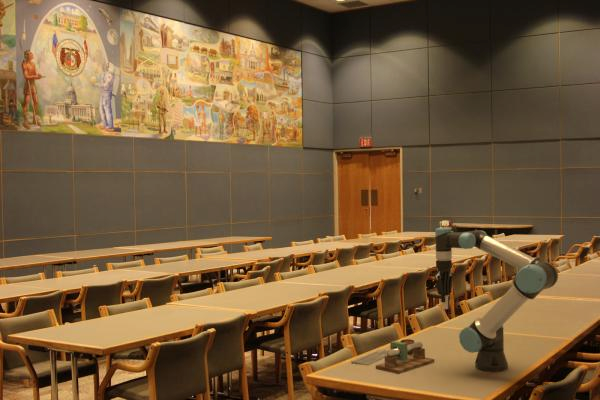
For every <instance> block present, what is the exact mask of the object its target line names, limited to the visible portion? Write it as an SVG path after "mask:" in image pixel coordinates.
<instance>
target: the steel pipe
mask: <svg viewBox="0 0 600 400" xmlns="http://www.w3.org/2000/svg"><path fill="white" fill-rule="evenodd" d="M419 348H423V343H422V342H421V341H417V342H414V343H413V344H409V345H407V352H409V351H413V350H416V349H419ZM395 355H401V351H400V347H397V348H395V349H392V350H391V349H388V350H387V356H388V357H392V356H395Z"/></svg>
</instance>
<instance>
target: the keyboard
mask: <svg viewBox="0 0 600 400" xmlns="http://www.w3.org/2000/svg"><path fill="white" fill-rule="evenodd" d="M387 351H388V350H386V349H382V348H378V349H376V350H374V351H372V352H369V353H367V354H364V355H361V356H360V357H356V358H355V359H353V360H351V364H355V365H362V366H367V367H368V366H372V365H373V364H376V363H377V362H380V361H382V360H383V359H384V360H385V356H387Z"/></svg>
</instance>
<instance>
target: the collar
mask: <svg viewBox="0 0 600 400" xmlns="http://www.w3.org/2000/svg"><path fill="white" fill-rule="evenodd" d="M389 342H390V348H389V350H392V349H395V348H398V347H400V351H401V354H400V355H395V357H397V360H401V361H406V360H408V356H409V354H407V343H402V342H401V341H395V340H392V341H389Z"/></svg>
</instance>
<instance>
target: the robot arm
mask: <svg viewBox="0 0 600 400" xmlns="http://www.w3.org/2000/svg"><path fill="white" fill-rule="evenodd" d="M434 235H435V236H434V237H435V238H434V240H435V259H436V260H435V268H436V269H437V273H436V274H434V280H435V285H436V289H437V294H438V295H439V296H440V299H441V300H440V301H441V309H442V310H449V296H451V293H452V290H453V289H452V287H453V279H454V275H455V274H454V273H453V272H451V269H452V266H453V261H452V258H453V256H452V253H453V251H452V249H462V250H463V249H464V250H468V249H470V250H471V249H473V248H476V249H478V250H481V251H482V252H485V253H487V254H488V255H491V256H493V257H494V258H497V259H498V260H500V261H502V262H504V263H506V264H508V265H510V266H512V267H515V268H517V269H518V271H517V272H516V275H515V278H514V279H512V286H511V287H510V288H509V289H508V290H507V292H505V293H504V295H502V296H501V298H499V300H497V302H495V304H494V305H493V306H492V307H490V309H489V310H488V311H487V312H486V313H485V314H484V315H483V316H482V317H478V318H475V319H474V321H473V322H472V323H471V324H470V325H468V326H465V327H463V329H461V330H460V332H459V336H458V338H459V343H460V346H461V347H462V348H463V349H464V350H465V351H466V352H468V353H477V355H476V357H475V362H474V365H475V366H474V367H475V368H476V369H478V370H480V371H484V372H485V371H487V372H502V371H507V369H509V362H508V361H507V356H506V355H505V349H504V347H505V346H504V344H505V343H504V341H505V340H504V324H505V323H506V322H507V321H508V320H509V319H510V318H512V317H513V315H514V314H515V313H516V312H518V310H519V309H520V308H521V307H522V306H523V305H524V304H525V303H526V302H527V301H528V300H534V299H535V298H536V297H537V296H538V295H539V294H540V293H541V292H543V291H544V290H547V289H551V288H553V286H555V285H556V284H557V283H558V279H559V272H558V269H557V268H556V266H555V265H553V264H552V263H550V262H549V261H547V260H545V259H543V258H540V257H538V256H535V257H533V256H531V255H528V254H526V253H524V252H522V251H520V250H518V249H516V248H515V247H512V246H510V245H508V244H507V243H504V242H501V241H499V240H497V239H495V238H493V237H491V236H489V235H488V234H487V232H486V231H484V230H479V229H478V230H477V229H476V230H469V231H459V232H458V231H457V232H455V231H452V228H451V227H437V228H436V229H435V234H434Z"/></svg>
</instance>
